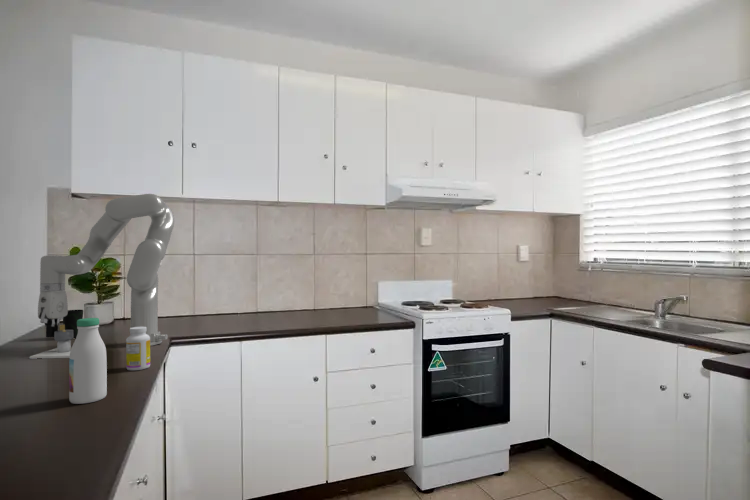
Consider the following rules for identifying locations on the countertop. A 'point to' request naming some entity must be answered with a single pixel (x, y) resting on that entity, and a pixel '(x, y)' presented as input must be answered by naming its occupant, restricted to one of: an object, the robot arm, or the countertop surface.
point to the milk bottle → (87, 364)
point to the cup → (72, 320)
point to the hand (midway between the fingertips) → (51, 336)
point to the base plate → (56, 351)
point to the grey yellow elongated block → (63, 334)
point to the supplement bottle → (138, 349)
